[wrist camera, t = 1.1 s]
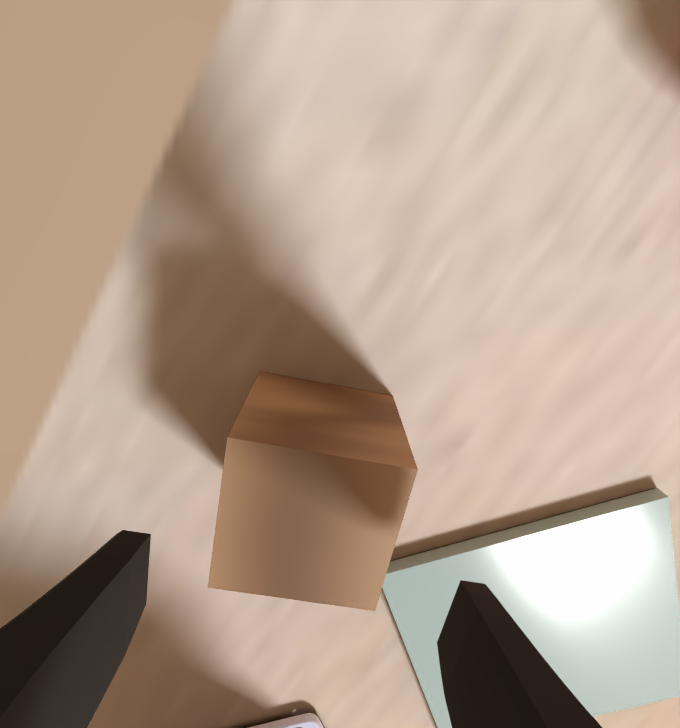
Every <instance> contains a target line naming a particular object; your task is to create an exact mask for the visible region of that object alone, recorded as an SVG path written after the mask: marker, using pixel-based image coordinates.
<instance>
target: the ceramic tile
mask: <svg viewBox="0 0 680 728" xmlns="http://www.w3.org/2000/svg"><path fill="white" fill-rule="evenodd" d="M460 580H463V581H470V582H477V583H483V584H486V585H487V587H488V588H489V589H490V590H491V591H492V593H493V594H494V595H495V596H496V598H497V599H498V600H499V602H500V603H501V604H502V605H503V607H504V608H505V609H506V611H507V612H508V613H509V614H510V616H511V617H512V618H513V620H514V621H515V622H516V623H517V625H518V626H519V627H520V629H521V630H522V631H523V632H524V634H525V635H526V636H527V638H528V639H529V640H530V641H531V643H532V644H533V645H534V646H535V648H536V649H537V650H538V652H539V653H540V654H541V655H542V657H543V658H544V659H545V660H546V662H547V663H548V664H549V665H550V667H551V668H552V669H553V670H554V671H555V673H556V674H557V675H558V676H559V678H560V679H561V680H562V681H563V682H564V684H565V685H566V686H567V687H568V688H569V690H570V691H571V692H572V693H573V694H574V696H575V697H576V698H577V699H578V700H579V702H580V703H581V704H582V705H583V706H584V707H585V709H586V710H587V711H588V712H589V713H590V714H591V715H592V717H593V716H597V715H602V714H606V713H610V712H615V711H619V710H623V709H628V708H632V707H636V706H641V705H645V704H649V703H654V702H658V701H662V700H667V699H671V698H675V697H680V613H679V602H678V592H677V581H676V571H675V561H674V550H673V540H672V529H671V519H670V508H669V498H668V496H667V495H665V494H664V493H663V492H662V491H661V490H659V489H658V488H655V489H651V490H648V491H644V492H640V493H637V494H633V495H629V496H626V497H622V498H619V499H615V500H611V501H608V502H604V503H600V504H597V505H593V506H590V507H586V508H582V509H579V510H575V511H571V512H568V513H564V514H561V515H557V516H553V517H550V518H546V519H542V520H539V521H535V522H532V523H528V524H524V525H521V526H517V527H513V528H510V529H506V530H503V531H499V532H495V533H492V534H488V535H484V536H481V537H477V538H474V539H470V540H466V541H463V542H459V543H455V544H452V545H448V546H445V547H441V548H437V549H434V550H430V551H426V552H423V553H419V554H416V555H412V556H408V557H405V558H401V559H397V560H394V561H390V563H389V566H388V570H387V573H386V576H385V580H384V583H383V586H382V589H383V591H384V594H385V596H386V599H387V601H388V604H389V606H390V609H391V611H392V614H393V616H394V619H395V621H396V624H397V626H398V629H399V632H400V634H401V637H402V639H403V642H404V644H405V647H406V649H407V652H408V654H409V657H410V659H411V662H412V664H413V667H414V670H415V672H416V675H417V677H418V680H419V682H420V685H421V687H422V690H423V692H424V695H425V697H426V700H427V702H428V705H429V707H430V710H431V713H432V715H433V718H434V720H435V723H436V725H437V728H452V725H451V721H450V717H449V713H448V709H447V705H446V700H445V696H444V690H443V684H442V677H441V671H440V663H439V655H438V647H437V641H438V638H439V636H440V633H441V630H442V628H443V625H444V623H445V620H446V617H447V615H448V612H449V609H450V607H451V604H452V601H453V599H454V596H455V593H456V591H457V588H458V585H459V583H460Z"/></svg>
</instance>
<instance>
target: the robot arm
mask: <svg viewBox="0 0 680 728" xmlns="http://www.w3.org/2000/svg"><path fill="white" fill-rule="evenodd" d="M150 537H151V534H146V533H139V532H132V531H126V530H122V531H121V532H119V533H118V534H116V535H115V536H114V537H113V538H112V539H111V540H109V541H108V542H107V543H106V544H105V545H104V546H102V547H101V548H100V549H99V550H98V551H97V552H95V553H94V554H93V555H92V556H91V557H90V558H88V559H87V560H86V561H85V562H84V563H82V564H81V565H80V566H79V567H78V568H76V569H75V570H74V571H73V572H72V573H70V574H69V575H68V576H67V577H66V578H64V579H63V580H62V581H61V582H60V583H58V584H57V585H56V586H55V587H53V588H52V589H51V590H50V591H48V592H47V593H46V594H45V595H43V596H42V597H41V598H40V599H38V600H37V601H36V602H34V603H33V604H32V605H31V606H29V607H28V608H27V609H26V610H24V611H23V612H22V613H21V614H19V615H18V616H17V617H15V618H14V619H13V620H11V621H10V622H9V623H7V624H6V625H4V626H3V627H2V628H0V728H87V726H88V724H89V723H90V721H91V719H92V717H93V715H94V713H95V711H96V709H97V707H98V705H99V704H100V702H101V700H102V698H103V696H104V694H105V692H106V690H107V688H108V686H109V684H110V683H111V681H112V679H113V677H114V675H115V673H116V671H117V669H118V667H119V665H120V663H121V661H122V659H123V657H124V656H125V654H126V651H127V649H128V646H129V644H130V642H131V639H132V637H133V634H134V632H135V630H136V627H137V625H138V622H139V620H140V617H141V615H142V612H143V610H144V607H145V605H146V597H147V582H148V567H149V552H150ZM437 647H438V655H439V663H440V671H441V677H442V684H443V690H444V696H445V700H446V705H447V709H448V713H449V717H450V721H451V725H452V728H602V727H601V726H600V725H599V723H598V722H597V721H596V720H595V719H594V718H593V717H592V715H591V714H590V713H589V712H588V711H587V710H586V709H585V707H584V706H583V705H582V704H581V703H580V702H579V700H578V699H577V698H576V697H575V696H574V694H573V693H572V692H571V691H570V690H569V688H568V687H567V686H566V685H565V684H564V682H563V681H562V680H561V679H560V678H559V676H558V675H557V674H556V673H555V671H554V670H553V669H552V668H551V667H550V665H549V664H548V663H547V662H546V660H545V659H544V658H543V657H542V655H541V654H540V653H539V652H538V650H537V649H536V648H535V646H534V645H533V644H532V643H531V641H530V640H529V639H528V638H527V636H526V635H525V634H524V632H523V631H522V630H521V629H520V627H519V626H518V625H517V623H516V622H515V621H514V620H513V618H512V617H511V616H510V614H509V613H508V612H507V611H506V609H505V608H504V607H503V605H502V604H501V603H500V602H499V600H498V599H497V598H496V596H495V595H494V594H493V593H492V591H491V590H490V589H489V588H488V587H487V585H486V584H483V583H477V582H470V581H463V580H460V583H459V585H458V588H457V591H456V593H455V596H454V599H453V601H452V604H451V607H450V609H449V612H448V615H447V617H446V620H445V623H444V625H443V628H442V630H441V633H440V636H439V638H438V641H437ZM248 728H324V727H323V725H322V724H321V722H320V720H319V718H318V717H317V716H316V715H315V714H313V713H305V714H301V715H297V716H293V717H289V718H285V719H281V720H277V721H273V722H268V723H264V724H260V725H256V726H252V727H248Z"/></svg>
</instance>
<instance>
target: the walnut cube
mask: <svg viewBox="0 0 680 728" xmlns="http://www.w3.org/2000/svg"><path fill="white" fill-rule="evenodd" d="M417 470H418V469H417V466H416V463H415V460H414V457H413V454H412V451H411V448H410V446H409V443H408V440H407V437H406V434H405V431H404V428H403V425H402V422H401V419H400V416H399V413H398V410H397V407H396V404H395V401H394V398H393V396H392V395H386V394H381V393H375V392H370V391H364V390H359V389H353V388H348V387H342V386H337V385H331V384H325V383H320V382H314V381H309V380H303V379H298V378H292V377H287V376H281V375H276V374H270V373H265V372H259V374H258V376H257V378H256V380H255V382H254V384H253V386H252V388H251V390H250V392H249V394H248V396H247V398H246V400H245V402H244V404H243V406H242V408H241V410H240V412H239V414H238V417H237V419H236V421H235V423H234V425H233V427H232V429H231V431H230V433H229V435H228V437H227V443H226V451H225V459H224V466H223V474H222V482H221V490H220V497H219V505H218V513H217V521H216V528H215V536H214V544H213V552H212V559H211V567H210V575H209V583H208V588H215V589H222V590H229V591H237V592H244V593H251V594H258V595H265V596H272V597H279V598H286V599H294V600H301V601H308V602H315V603H322V604H329V605H336V606H343V607H351V608H358V609H365V610H372V611H375V610H376V606H377V603H378V600H379V596H380V593H381V590H382V586H383V583H384V580H385V576H386V573H387V570H388V566H389V563H390V560H391V556H392V553H393V550H394V546H395V543H396V540H397V536H398V533H399V530H400V526H401V523H402V520H403V516H404V513H405V510H406V506H407V503H408V500H409V496H410V493H411V490H412V486H413V483H414V480H415V476H416V473H417Z"/></svg>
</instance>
